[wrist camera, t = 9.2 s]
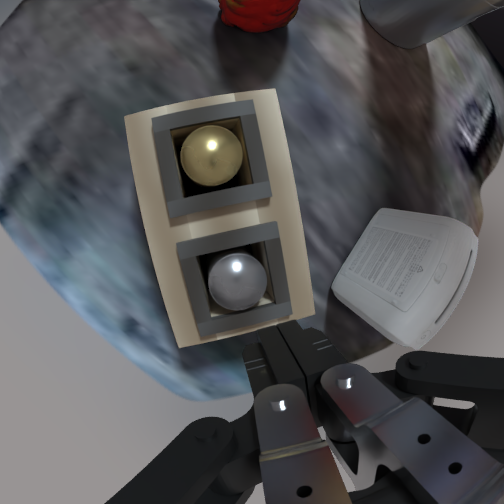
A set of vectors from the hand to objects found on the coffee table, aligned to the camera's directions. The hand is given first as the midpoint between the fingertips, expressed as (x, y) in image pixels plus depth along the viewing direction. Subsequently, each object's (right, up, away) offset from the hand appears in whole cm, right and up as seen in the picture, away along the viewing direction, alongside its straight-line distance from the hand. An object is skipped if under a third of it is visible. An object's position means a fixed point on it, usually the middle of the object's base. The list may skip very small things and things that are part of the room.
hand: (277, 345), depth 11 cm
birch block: (-4, +7, +13) cm, 16 cm away
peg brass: (-5, +11, +12) cm, 17 cm away
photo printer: (+10, +3, +17) cm, 20 cm away
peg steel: (-3, +3, +14) cm, 15 cm away
